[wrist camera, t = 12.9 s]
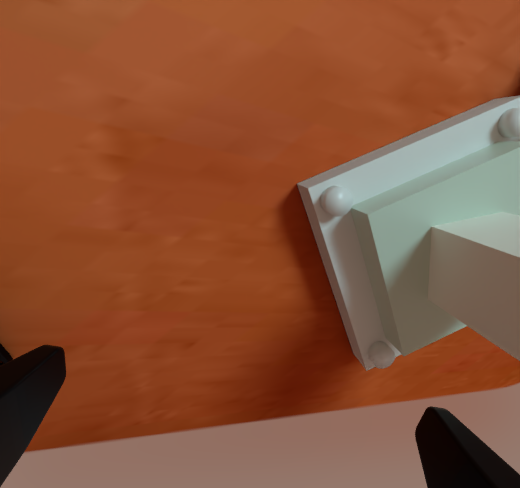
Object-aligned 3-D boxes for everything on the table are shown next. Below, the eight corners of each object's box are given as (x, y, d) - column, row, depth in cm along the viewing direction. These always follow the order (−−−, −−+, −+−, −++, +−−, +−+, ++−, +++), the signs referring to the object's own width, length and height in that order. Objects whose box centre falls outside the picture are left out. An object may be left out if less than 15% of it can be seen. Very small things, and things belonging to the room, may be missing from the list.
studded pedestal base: (353, 353, 24) (382, 391, 20) (296, 183, 19) (322, 193, 15) (509, 279, 25) (564, 303, 21) (494, 98, 20) (563, 89, 16)
